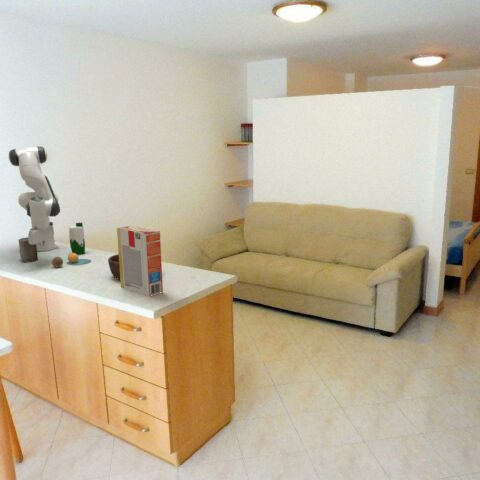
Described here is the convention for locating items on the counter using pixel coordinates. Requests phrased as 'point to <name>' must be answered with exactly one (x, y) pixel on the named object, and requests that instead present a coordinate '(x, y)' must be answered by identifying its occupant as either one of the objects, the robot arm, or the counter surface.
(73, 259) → the orange ball
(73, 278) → the counter surface
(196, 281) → the counter surface
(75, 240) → the milk carton
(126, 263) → the cereal box
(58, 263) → the walnut ball
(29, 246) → the pillar candle
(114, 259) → the wooden bowl
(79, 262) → the teal mark
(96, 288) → the counter surface
